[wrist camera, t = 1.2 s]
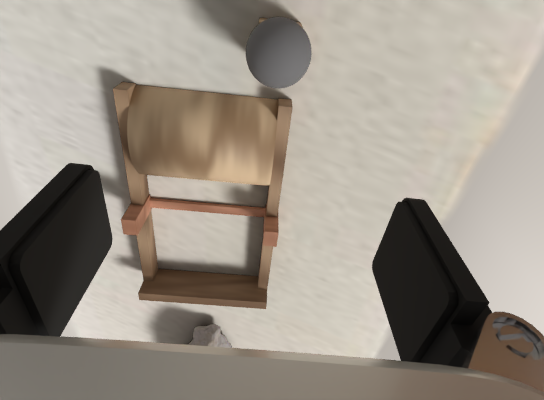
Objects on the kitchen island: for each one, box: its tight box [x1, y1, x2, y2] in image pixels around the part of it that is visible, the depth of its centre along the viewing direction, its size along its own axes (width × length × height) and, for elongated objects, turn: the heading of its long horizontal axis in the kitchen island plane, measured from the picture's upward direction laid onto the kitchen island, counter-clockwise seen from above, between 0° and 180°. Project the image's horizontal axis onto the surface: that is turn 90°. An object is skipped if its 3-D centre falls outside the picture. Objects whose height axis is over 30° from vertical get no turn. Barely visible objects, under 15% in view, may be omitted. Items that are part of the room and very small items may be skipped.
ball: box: [246, 17, 311, 88], centre depth 21 cm, size 4×4×4 cm
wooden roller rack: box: [113, 82, 292, 309], centre depth 32 cm, size 21×13×9 cm, turn 174°
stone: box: [188, 324, 232, 348], centre depth 42 cm, size 8×10×6 cm
